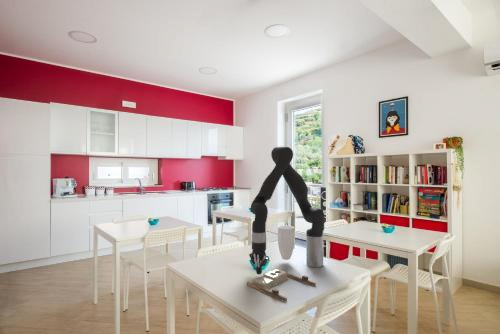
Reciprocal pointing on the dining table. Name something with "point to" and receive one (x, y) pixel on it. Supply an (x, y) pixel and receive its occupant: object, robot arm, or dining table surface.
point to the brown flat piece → (276, 292)
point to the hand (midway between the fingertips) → (258, 273)
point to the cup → (286, 241)
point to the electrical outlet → (271, 278)
